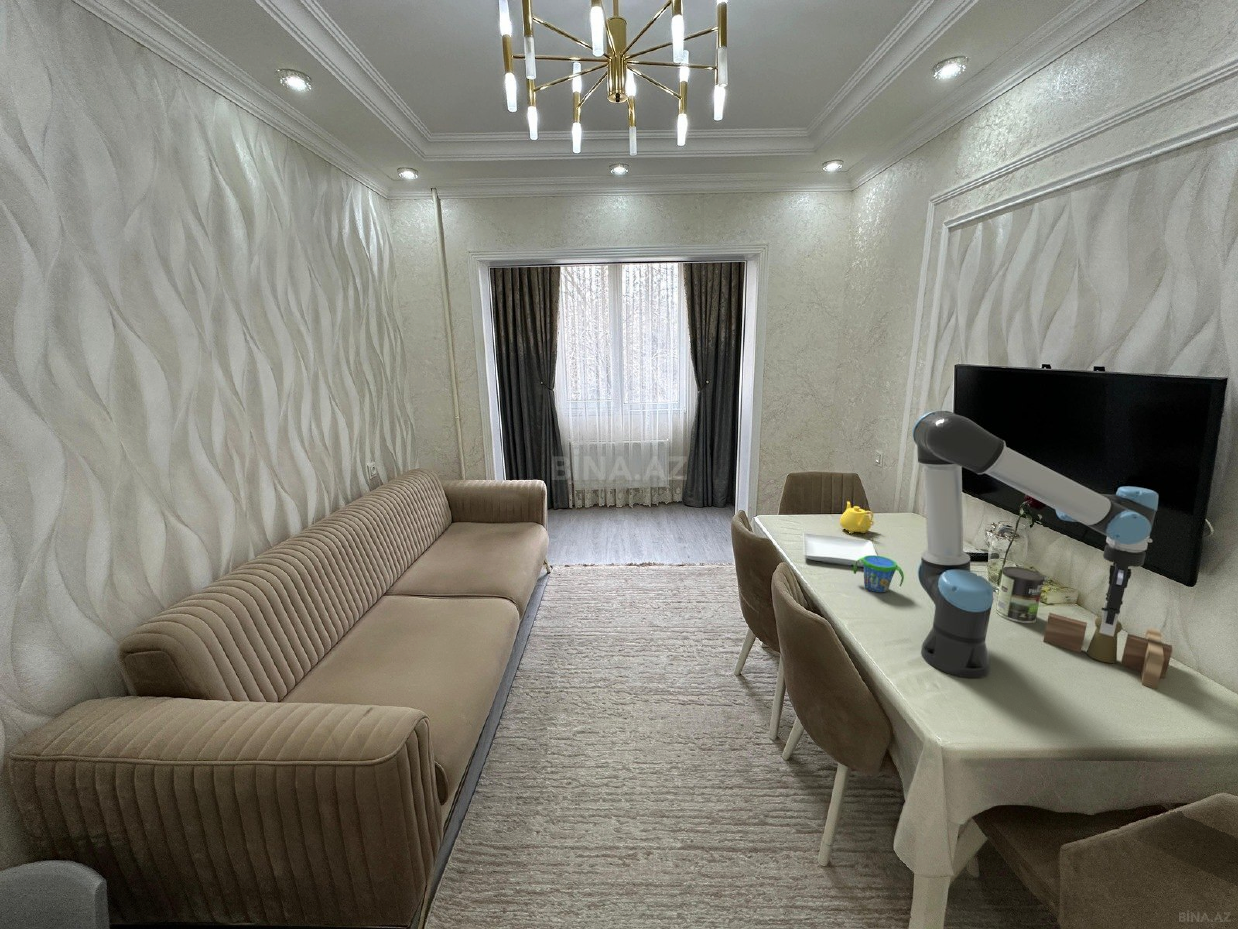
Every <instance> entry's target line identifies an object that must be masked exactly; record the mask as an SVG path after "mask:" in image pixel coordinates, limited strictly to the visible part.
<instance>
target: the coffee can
mask: <svg viewBox="0 0 1238 929" xmlns="http://www.w3.org/2000/svg"><path fill="white" fill-rule="evenodd" d="M1001 571H1002V572H1001V578H1000V582H999V589H998V593H997V594H998V596H997V602H996V606H995V609H996V611H995V613H996V614H997V613H998V614H997V615H998V616H1000V617H1002V616H1003V617H1002V618H1003V619H1005V620H1006V619H1007V620H1010V621H1011V622H1015V623H1021V624H1034V623H1035V622H1036V621H1037V618H1038V611H1039V610H1038V609H1039V606H1040V601H1041V595H1042V592H1043V587H1044V586H1043V585H1044V582H1045V576H1044V575H1043V574H1041V573H1040V572H1038V571H1035V570H1033V569H1029V568H1024V567H1019V566H1004V567H1003V568H1002V569H1001Z"/></svg>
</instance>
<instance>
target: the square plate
mask: <svg viewBox="0 0 1238 929" xmlns="http://www.w3.org/2000/svg"><path fill="white" fill-rule="evenodd" d="M802 539H803V549H802V554H803V556H804V557H806V559H808V560H812V561H817V562H820V561H822V562H821V563H827V562H829V563H828V564H835V563H836V565H844V566H851V565H853V567H854V564H855V562H856V561H857V560H858V559H860V558H863V557H865V556H869V555H875V556H878V554H877V551H876V550H875V546H874V544H873V542H872V540H869V539H860V538H855V537H854V538H853V537H848V536H847V537H846V536H839V535H829V534H816V533H806V532H804V533H802ZM857 567H860V568H862V567H863V562H862V561H858V563H857ZM863 568H864V567H863Z"/></svg>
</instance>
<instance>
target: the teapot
mask: <svg viewBox="0 0 1238 929" xmlns="http://www.w3.org/2000/svg"><path fill="white" fill-rule="evenodd" d="M869 514H870V516H869ZM873 518H874V513H873V512H872V511H870V510H865V509H863V508H861V507H860V506H853V507H852V505H851V502H850V501H846V509H845V511H844V512H843V513H842V515H841V516H840V518H839V525H840V526H841V528H842V529H843V528H844V529H846V530H845V531H848V532H850V533H854V532H855V533H860V532H861V533H866V532H867V531H869V530H870V529H871V526H873V525H874V524H875V522H874V521H873ZM844 529H843V530H844ZM861 533H860V534H861Z"/></svg>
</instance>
